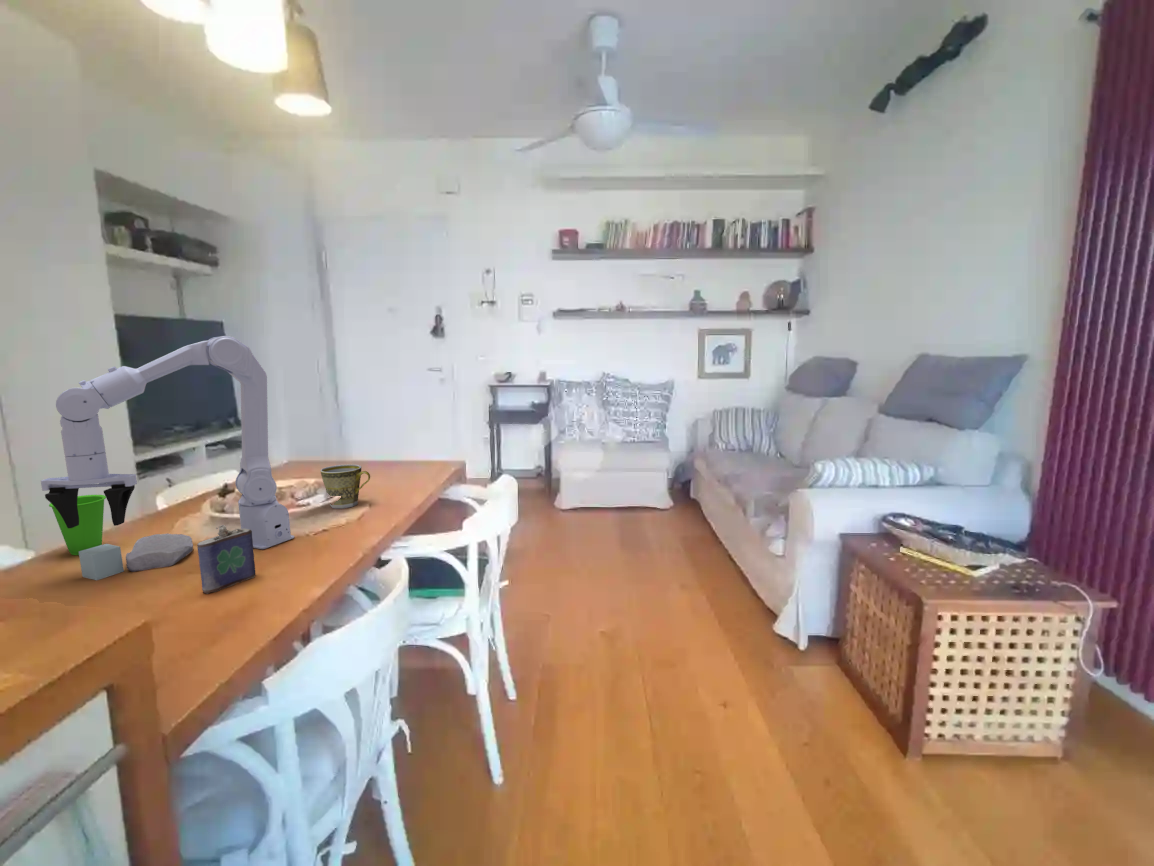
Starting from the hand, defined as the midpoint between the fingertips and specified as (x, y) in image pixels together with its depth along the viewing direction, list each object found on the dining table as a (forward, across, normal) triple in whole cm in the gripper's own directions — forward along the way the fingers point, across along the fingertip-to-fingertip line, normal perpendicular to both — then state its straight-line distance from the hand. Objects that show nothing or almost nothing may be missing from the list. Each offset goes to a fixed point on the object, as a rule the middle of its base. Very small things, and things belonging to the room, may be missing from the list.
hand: (96, 525), depth 107 cm
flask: (+10, -26, +10) cm, 29 cm away
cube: (+10, 0, 0) cm, 10 cm away
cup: (+10, +12, -15) cm, 21 cm away
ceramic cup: (+10, -36, -39) cm, 54 cm away
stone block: (+10, -7, -6) cm, 14 cm away
